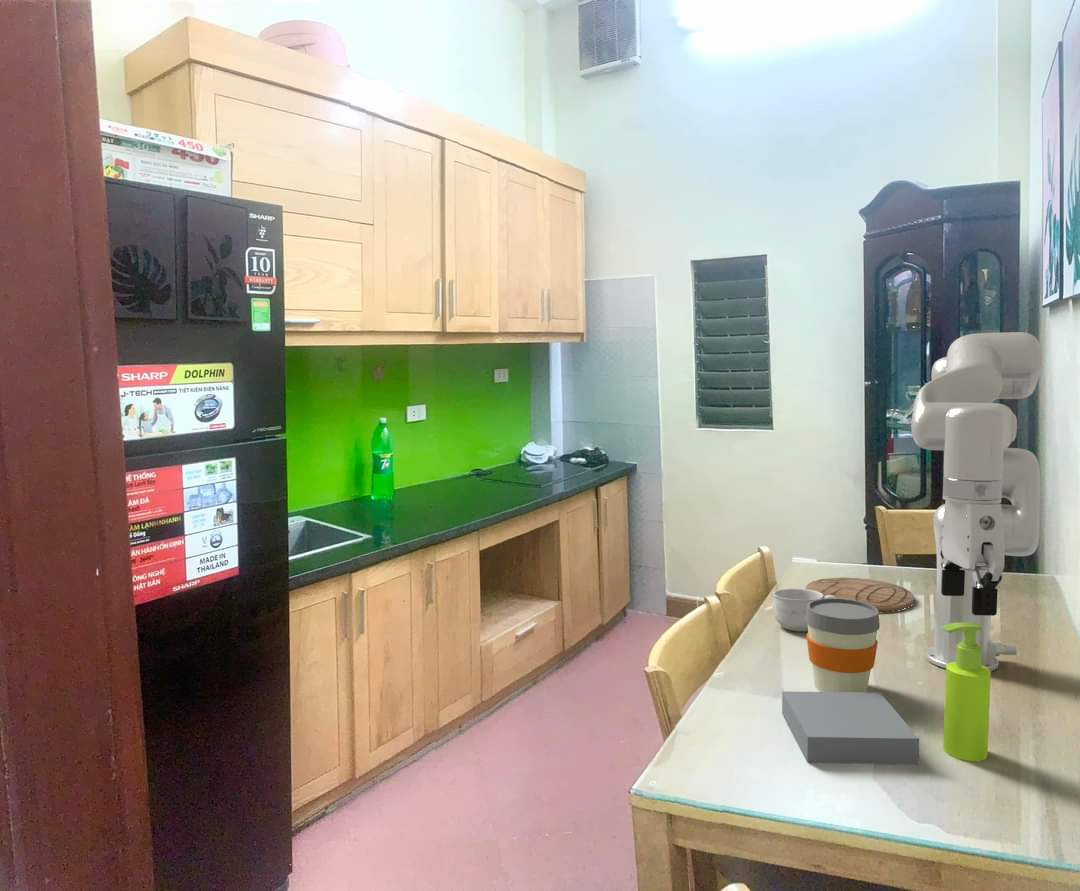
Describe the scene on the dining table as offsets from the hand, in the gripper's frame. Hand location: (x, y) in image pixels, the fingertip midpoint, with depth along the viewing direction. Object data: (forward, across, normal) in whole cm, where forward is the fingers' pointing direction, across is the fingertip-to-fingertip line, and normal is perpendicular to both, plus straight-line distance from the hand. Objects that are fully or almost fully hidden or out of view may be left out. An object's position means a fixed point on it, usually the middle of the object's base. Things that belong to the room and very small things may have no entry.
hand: (967, 604), depth 115 cm
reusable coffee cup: (+23, +24, +11) cm, 35 cm away
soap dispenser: (+23, +1, 0) cm, 23 cm away
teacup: (+22, +56, +9) cm, 61 cm away
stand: (+23, +5, +16) cm, 28 cm away
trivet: (+22, +79, -10) cm, 83 cm away
